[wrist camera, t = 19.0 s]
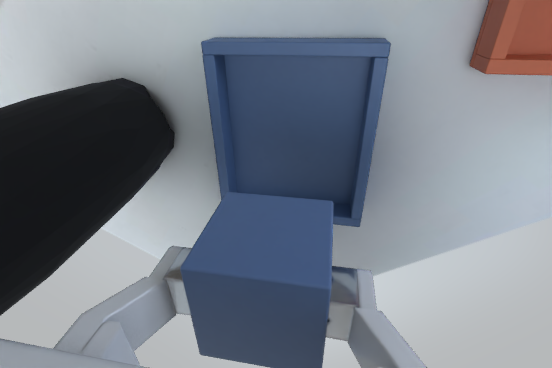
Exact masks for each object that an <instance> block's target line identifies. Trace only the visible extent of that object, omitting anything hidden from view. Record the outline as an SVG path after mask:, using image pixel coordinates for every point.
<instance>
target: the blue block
mask: <svg viewBox="0 0 552 368" xmlns="http://www.w3.org/2000/svg"><path fill="white" fill-rule="evenodd" d="M332 242H333V201H328V200H316V199H305V198H293V197H282V196H270V195H259V194H247V193H236V192H227V193H226V194H225V196H224V197H223V199H222V201H221V202H220V204H219V205H218V207H217V209H216V210H215V212H214V214H213V215H212V217H211V218H210V220H209V222H208V223H207V225H206V226H205V228H204V230H203V231H202V233H201V235H200V236H199V238H198V239H197V241H196V243H195V244H194V246H193V248H192V249H191V251H190V252H189V254H188V256H187V257H186V259H185V261H184V262H183V264H182V265H181V268H180V271H181V275H182V280H183V284H184V288H185V292H186V297H187V301H188V305H189V309H190V314H191V318H192V322H193V327H194V331H195V335H196V339H197V344H198V348H199V352H200V354H201V355H204V356H209V357H215V358H221V359H226V360H232V361H237V362H243V363H248V364H254V365H259V366H265V367H270V368H322V363H323V355H324V346H325V338H326V329H327V321H328V312H329V304H330V295H331V282H332Z"/></svg>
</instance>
